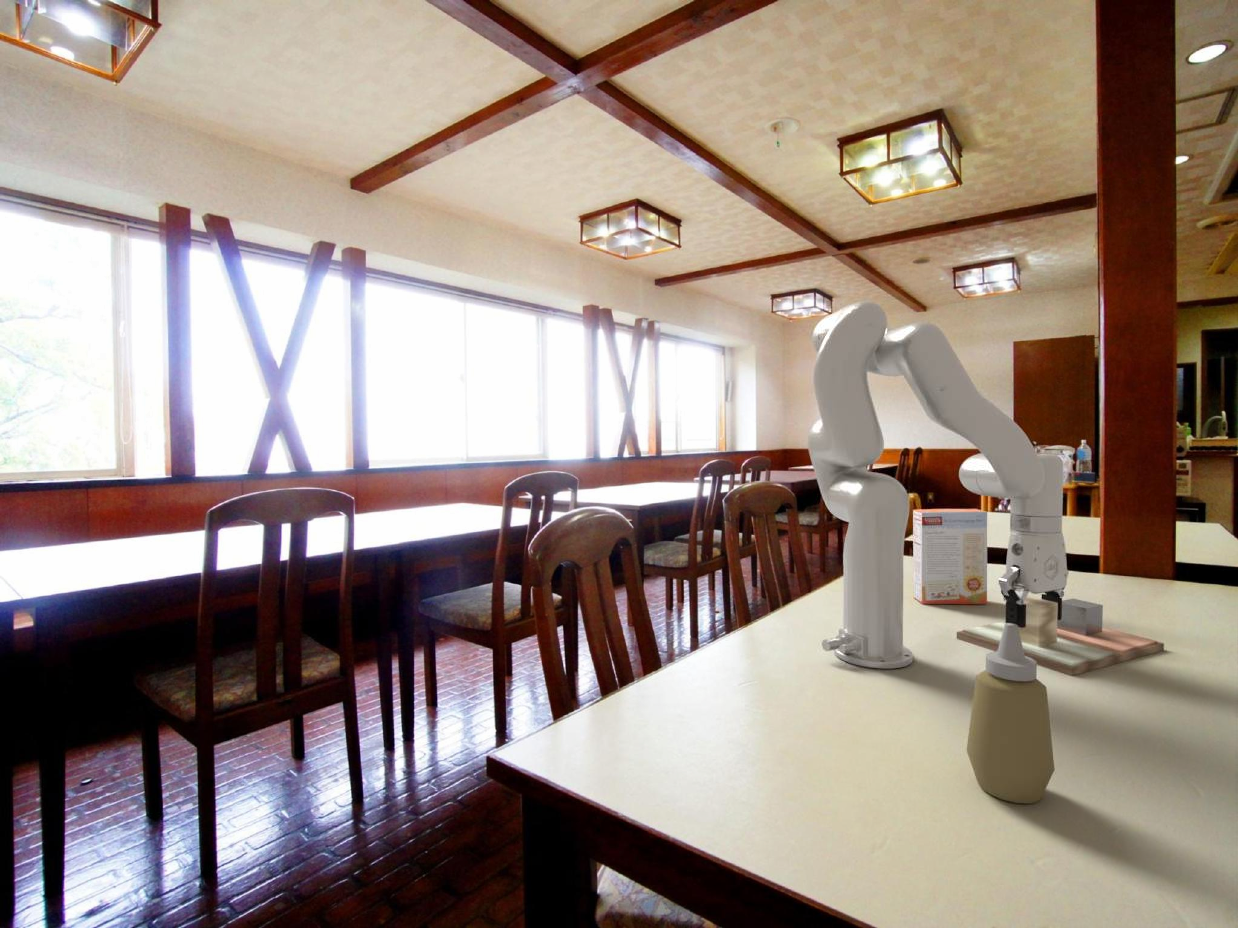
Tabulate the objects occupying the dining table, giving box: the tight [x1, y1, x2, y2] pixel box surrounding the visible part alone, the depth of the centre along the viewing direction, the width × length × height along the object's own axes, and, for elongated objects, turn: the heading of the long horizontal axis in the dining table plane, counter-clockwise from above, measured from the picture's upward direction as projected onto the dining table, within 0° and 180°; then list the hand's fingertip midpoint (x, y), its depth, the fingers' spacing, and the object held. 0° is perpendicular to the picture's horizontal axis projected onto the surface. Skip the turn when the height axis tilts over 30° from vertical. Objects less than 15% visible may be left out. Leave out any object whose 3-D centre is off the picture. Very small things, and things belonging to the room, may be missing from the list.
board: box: [956, 621, 1165, 677], centre depth 112 cm, size 26×20×2 cm
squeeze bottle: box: [966, 623, 1055, 805], centre depth 67 cm, size 8×8×18 cm
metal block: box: [1057, 598, 1104, 636], centre depth 114 cm, size 5×5×5 cm
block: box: [1018, 595, 1058, 647], centre depth 109 cm, size 5×5×7 cm
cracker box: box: [912, 508, 988, 605], centre depth 140 cm, size 14×6×21 cm, turn 84°
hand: (1033, 621), depth 109 cm, fingers open, 9 cm apart
